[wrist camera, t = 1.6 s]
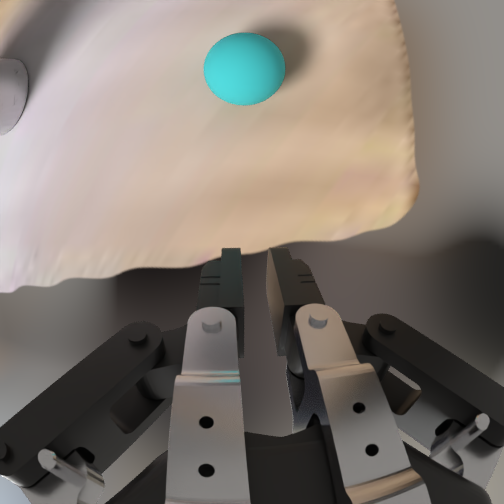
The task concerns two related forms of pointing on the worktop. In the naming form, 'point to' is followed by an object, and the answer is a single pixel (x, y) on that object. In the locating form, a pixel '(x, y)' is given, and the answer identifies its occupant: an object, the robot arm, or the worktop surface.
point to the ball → (244, 68)
